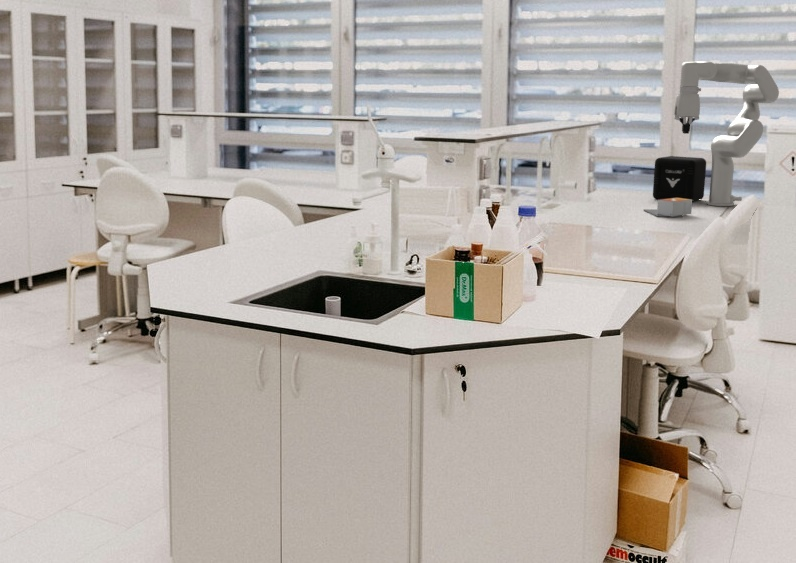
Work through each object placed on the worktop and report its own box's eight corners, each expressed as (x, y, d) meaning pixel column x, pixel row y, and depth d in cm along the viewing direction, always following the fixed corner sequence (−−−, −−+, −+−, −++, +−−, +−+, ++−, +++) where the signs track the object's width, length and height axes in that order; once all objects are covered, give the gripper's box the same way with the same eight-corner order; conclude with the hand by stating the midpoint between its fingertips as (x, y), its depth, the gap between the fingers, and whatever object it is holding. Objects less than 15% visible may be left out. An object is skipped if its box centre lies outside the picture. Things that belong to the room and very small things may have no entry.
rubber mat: (668, 210, 401) (668, 209, 401) (682, 216, 384) (682, 215, 384) (643, 210, 401) (643, 209, 401) (656, 217, 383) (656, 215, 383)
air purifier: (650, 199, 438) (653, 157, 434) (663, 196, 449) (666, 155, 445) (691, 203, 425) (694, 160, 421) (703, 200, 436) (706, 158, 432)
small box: (692, 199, 386) (673, 201, 379) (691, 214, 388) (672, 216, 380) (676, 197, 393) (657, 199, 385) (675, 211, 394) (656, 214, 387)
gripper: (702, 90, 403) (699, 132, 407) (669, 90, 402) (666, 132, 407) (708, 91, 396) (705, 134, 400) (674, 90, 395) (671, 133, 399)
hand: (685, 133), depth 403 cm, fingers closed
